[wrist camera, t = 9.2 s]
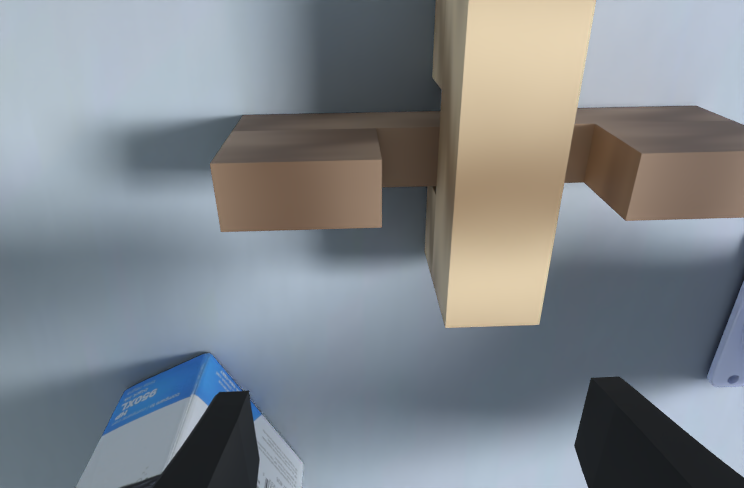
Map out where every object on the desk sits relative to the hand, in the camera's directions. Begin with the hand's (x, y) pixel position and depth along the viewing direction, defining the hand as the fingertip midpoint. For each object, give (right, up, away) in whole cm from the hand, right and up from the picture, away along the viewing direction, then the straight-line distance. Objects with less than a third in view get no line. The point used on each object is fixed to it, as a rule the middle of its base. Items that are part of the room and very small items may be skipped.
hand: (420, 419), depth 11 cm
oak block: (+3, +8, +7) cm, 11 cm away
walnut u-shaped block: (+2, +8, +8) cm, 11 cm away
